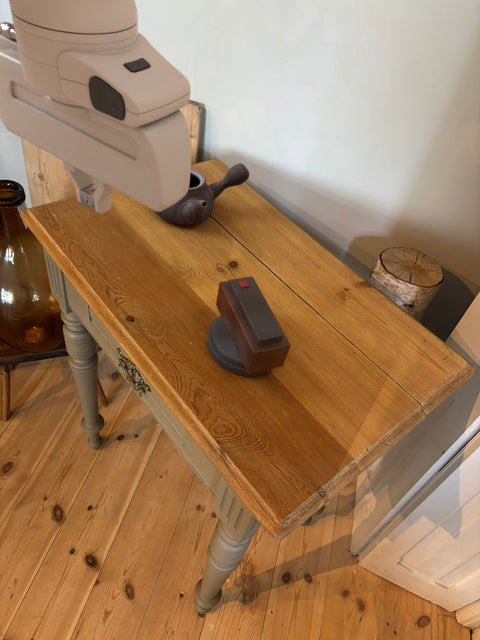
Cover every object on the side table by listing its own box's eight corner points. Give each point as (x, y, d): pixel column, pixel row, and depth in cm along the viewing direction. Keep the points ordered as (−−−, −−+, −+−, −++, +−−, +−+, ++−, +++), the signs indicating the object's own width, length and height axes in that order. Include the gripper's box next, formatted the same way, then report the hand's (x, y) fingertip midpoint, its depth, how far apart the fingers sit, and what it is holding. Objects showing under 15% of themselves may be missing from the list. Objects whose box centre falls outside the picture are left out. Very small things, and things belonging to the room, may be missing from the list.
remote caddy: (297, 366, 69) (310, 334, 63) (229, 382, 65) (237, 350, 60) (261, 300, 77) (270, 267, 72) (199, 311, 73) (203, 277, 68)
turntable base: (191, 348, 70) (192, 342, 69) (234, 305, 78) (236, 299, 77) (257, 390, 67) (259, 384, 66) (295, 341, 74) (298, 335, 73)
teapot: (170, 244, 86) (173, 198, 78) (142, 197, 94) (142, 151, 87) (257, 226, 93) (267, 183, 86) (224, 185, 102) (230, 142, 94)
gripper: (-45, 20, 37) (-4, 175, 47) (154, 114, 31) (152, 267, 41) (21, 8, 41) (46, 154, 51) (208, 90, 35) (194, 235, 45)
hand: (94, 205), depth 46 cm, fingers closed
